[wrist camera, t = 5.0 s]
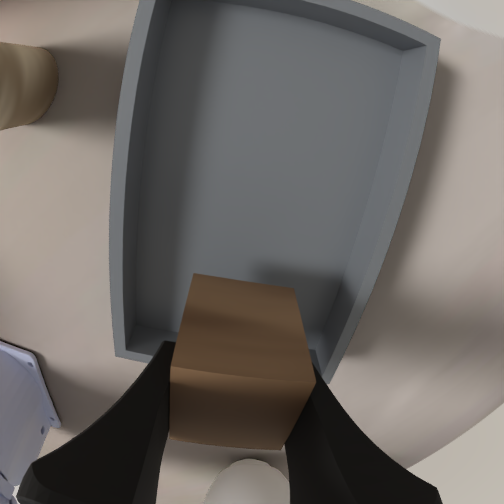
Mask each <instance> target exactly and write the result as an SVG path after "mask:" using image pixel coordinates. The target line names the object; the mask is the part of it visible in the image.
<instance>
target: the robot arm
mask: <svg viewBox="0 0 504 504" xmlns="http://www.w3.org/2000/svg"><path fill="white" fill-rule="evenodd" d="M175 345H176V342H172V341H166V340H165V341H163V342H162V343H161V345H160V346H159V348H158V350H157V352H156V353H155V355H154V356H153V358H152V359H151V361H150V362H149V364H148V365H147V366H146V368H145V369H144V370H143V372H142V373H141V374H140V375H139V377H138V378H137V379H136V381H135V382H134V383H133V384H132V385H131V386H130V388H129V389H128V390H127V391H126V392H125V393H124V394H123V396H122V397H121V398H120V399H119V400H118V401H117V402H116V403H115V404H114V405H113V406H112V407H111V408H110V409H109V410H108V411H107V412H106V413H105V414H103V415H102V416H101V417H100V418H99V419H98V420H96V421H95V422H94V423H93V424H92V425H91V426H89V427H88V428H87V429H85V430H84V431H83V432H82V433H80V434H79V435H77V436H76V437H74V438H73V439H71V440H70V441H68V442H67V443H65V444H64V445H62V446H61V447H59V448H58V449H56V450H54V451H52V452H51V453H49V454H47V455H45V456H43V457H41V458H39V459H37V458H38V456H39V453H40V451H41V448H42V446H43V443H44V441H45V438H46V436H47V433H48V431H49V429H50V426H53V427H56V428H60V426H61V423H60V420H59V418H58V416H57V413H56V411H55V409H54V406H53V404H52V401H51V399H50V396H49V393H48V391H47V388H46V385H45V383H44V380H43V377H42V374H41V371H40V368H39V365H38V362H37V359H36V357H35V355H34V354H33V353H31V352H29V351H26V350H23V349H20V348H17V347H15V346H12V345H9V344H7V343H4V342H1V341H0V504H17V501H16V500H15V498H14V496H13V495H12V494H13V491H14V486H17V485H20V487H19V490H18V493H17V495H16V497H17V500H18V502H19V503H20V504H156V496H157V488H158V480H159V473H160V465H161V460H162V455H163V451H164V447H165V444H166V440H167V436H168V432H169V416H170V369H171V362H172V358H173V353H174V349H175ZM312 366H313V370H314V374H315V379H316V384H315V386H314V388H313V390H312V392H311V394H310V396H309V398H308V400H307V402H306V404H305V406H304V408H303V410H302V412H301V414H300V416H299V418H298V420H297V422H296V423H295V425H294V427H293V429H292V431H291V433H290V435H289V436H288V438H287V440H286V442H285V450H286V456H287V462H288V470H289V486H290V504H443V503H442V501H441V498H440V495H439V492H438V490H437V488H436V487H434V486H433V485H431V484H429V483H427V482H426V481H424V480H422V479H420V478H418V477H416V476H415V475H413V474H412V473H411V472H409V471H408V470H406V469H405V468H403V467H402V466H401V465H399V464H398V463H397V462H395V461H394V460H393V459H391V458H390V457H389V456H388V455H387V454H386V453H384V452H383V451H382V450H381V449H380V448H379V447H377V446H376V445H375V444H374V443H373V442H372V441H371V440H370V439H369V438H368V437H367V436H366V435H365V434H364V433H363V432H362V430H361V429H360V428H359V427H358V426H357V425H356V424H355V423H354V421H353V420H352V419H351V418H350V416H349V415H348V414H347V413H346V411H345V410H344V409H343V407H342V406H341V405H340V403H339V402H338V400H337V399H336V398H335V396H334V395H333V393H332V392H331V390H330V389H329V387H328V386H327V384H326V383H325V381H324V380H323V378H322V377H321V375H320V374H319V372H318V370H317V369H316V367H315V366H314V364H313V363H312Z"/></svg>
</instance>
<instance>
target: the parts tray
mask: <svg viewBox="0 0 504 504" xmlns="http://www.w3.org/2000/svg"><path fill="white" fill-rule="evenodd" d="M440 41H441V39H440V38H438V37H436V36H434V35H432V34H430V33H428V32H426V31H424V30H422V29H420V28H418V27H416V26H414V25H412V24H410V23H407V22H405V21H403V20H401V19H398V18H396V17H394V16H391V15H389V14H386V13H384V12H381V11H379V10H376V9H374V8H371V7H368V6H366V5H363V4H360V3H357V2H354V1H351V0H140V1H139V5H138V9H137V13H136V17H135V21H134V25H133V29H132V34H131V38H130V43H129V47H128V52H127V57H126V63H125V68H124V74H123V79H122V86H121V92H120V98H119V105H118V113H117V121H116V129H115V138H114V149H113V160H112V173H111V190H110V215H109V271H110V297H111V313H112V327H113V338H114V348H115V356H116V357H121V358H125V359H130V360H135V361H139V362H144V363H149V362H150V361H151V359H152V358H153V356H154V355H155V353H156V352H157V350H158V348H159V346H160V345H161V343H162V342H163V341H165V340H166V341H172V342H176V341H177V337H178V332H179V328H180V324H181V320H182V316H183V312H184V308H185V304H186V300H187V296H188V292H189V288H190V285H191V281H192V277H193V273H197V274H203V275H209V276H216V277H222V278H228V279H235V280H241V281H248V282H255V283H262V284H268V285H275V286H282V287H289V288H294V291H295V295H296V299H297V303H298V307H299V311H300V315H301V319H302V323H303V328H304V332H305V336H306V340H307V344H308V349H309V353H310V357H311V361H312V363H313V364H314V366H315V367H316V369H317V370H318V372H319V374H320V375H321V377H322V378H323V380H324V381H325V383H326V384H329V383H330V381H331V379H332V377H333V375H334V373H335V371H336V369H337V367H338V365H339V363H340V361H341V359H342V357H343V355H344V353H345V351H346V349H347V347H348V345H349V342H350V340H351V338H352V336H353V334H354V332H355V329H356V327H357V325H358V323H359V320H360V318H361V316H362V313H363V311H364V309H365V306H366V304H367V302H368V299H369V297H370V294H371V292H372V289H373V287H374V285H375V282H376V280H377V277H378V274H379V272H380V269H381V267H382V264H383V261H384V259H385V256H386V253H387V251H388V248H389V245H390V242H391V239H392V237H393V234H394V231H395V228H396V225H397V222H398V219H399V216H400V213H401V210H402V207H403V203H404V200H405V197H406V194H407V190H408V187H409V184H410V180H411V177H412V173H413V170H414V166H415V163H416V159H417V155H418V151H419V147H420V144H421V140H422V135H423V131H424V127H425V123H426V118H427V114H428V109H429V105H430V100H431V95H432V90H433V84H434V79H435V73H436V67H437V61H438V55H439V48H440Z"/></svg>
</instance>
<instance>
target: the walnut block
mask: <svg viewBox="0 0 504 504" xmlns="http://www.w3.org/2000/svg"><path fill="white" fill-rule="evenodd" d="M315 384H316V379H315V374H314V370H313V366H312V361H311V357H310V353H309V349H308V344H307V340H306V336H305V332H304V328H303V323H302V319H301V315H300V311H299V307H298V303H297V299H296V295H295V291H294V288H289V287H282V286H275V285H268V284H262V283H255V282H248V281H241V280H235V279H228V278H222V277H216V276H209V275H203V274H197V273H193V277H192V281H191V285H190V288H189V292H188V296H187V300H186V304H185V308H184V312H183V316H182V320H181V324H180V328H179V332H178V337H177V341H176V345H175V349H174V353H173V358H172V362H171V369H170V416H169V439H172V440H178V441H185V442H191V443H199V444H206V445H215V446H224V447H235V448H247V449H264V450H281V449H282V447H283V445H284V444H285V442H286V440H287V438H288V436H289V435H290V433H291V431H292V429H293V427H294V425H295V423H296V422H297V420H298V418H299V416H300V414H301V412H302V410H303V408H304V406H305V404H306V402H307V400H308V398H309V396H310V394H311V392H312V390H313V388H314V386H315Z"/></svg>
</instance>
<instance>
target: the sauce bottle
mask: <svg viewBox="0 0 504 504" xmlns="http://www.w3.org/2000/svg"><path fill="white" fill-rule="evenodd" d="M204 504H290V486H289V482H288V480H287V479H286V478H285V476H284V475H283V474H282V473H281V472H280V471H279V470H278V469H276V468H274V467H270V465H269V464H268V463H266V462H263V461H259V460H256V459H243V460H240V461H236V462H234V463H232V464H231V465H230V467H228V468H225V469H224V470H222V471H221V472H220V473H219V474H218V476H217V477H216V478H215V480H214V481H213V483H212V485H211V486H210V488H209V490H208V492H207V495H206V497H205V500H204Z"/></svg>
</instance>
